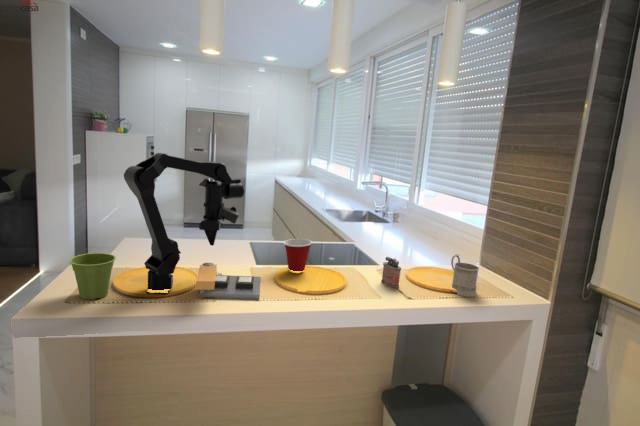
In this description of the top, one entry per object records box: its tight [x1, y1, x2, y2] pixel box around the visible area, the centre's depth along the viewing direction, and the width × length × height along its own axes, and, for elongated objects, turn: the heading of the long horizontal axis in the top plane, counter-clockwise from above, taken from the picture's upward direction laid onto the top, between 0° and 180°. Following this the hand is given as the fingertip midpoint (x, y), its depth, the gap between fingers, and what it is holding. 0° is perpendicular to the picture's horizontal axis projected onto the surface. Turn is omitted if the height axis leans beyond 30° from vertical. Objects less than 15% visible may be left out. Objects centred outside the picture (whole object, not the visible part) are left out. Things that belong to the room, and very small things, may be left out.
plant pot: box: [68, 252, 117, 301], centre depth 121 cm, size 12×12×11 cm
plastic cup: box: [283, 238, 313, 271], centre depth 158 cm, size 11×11×12 cm
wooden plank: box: [195, 262, 217, 291], centre depth 128 cm, size 18×5×2 cm, turn 12°
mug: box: [450, 253, 480, 298], centre depth 153 cm, size 14×10×12 cm
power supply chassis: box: [199, 274, 262, 300], centre depth 136 cm, size 18×17×5 cm
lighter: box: [380, 256, 402, 290], centre depth 152 cm, size 8×3×10 cm, turn 34°
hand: (212, 245), depth 141 cm, fingers closed
